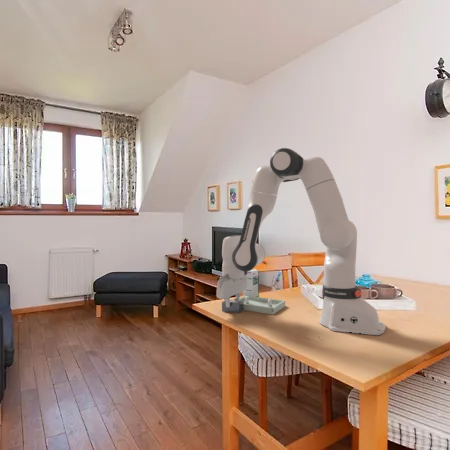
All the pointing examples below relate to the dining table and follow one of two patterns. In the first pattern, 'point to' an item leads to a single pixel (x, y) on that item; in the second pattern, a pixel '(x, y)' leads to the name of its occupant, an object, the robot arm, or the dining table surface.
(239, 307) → the grey rectangular block
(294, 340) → the dining table surface
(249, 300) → the tray
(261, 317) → the dining table surface
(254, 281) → the syrup box
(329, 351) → the dining table surface
